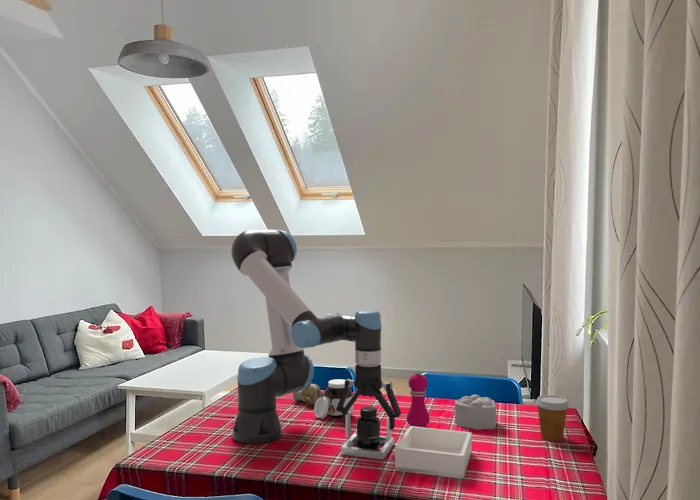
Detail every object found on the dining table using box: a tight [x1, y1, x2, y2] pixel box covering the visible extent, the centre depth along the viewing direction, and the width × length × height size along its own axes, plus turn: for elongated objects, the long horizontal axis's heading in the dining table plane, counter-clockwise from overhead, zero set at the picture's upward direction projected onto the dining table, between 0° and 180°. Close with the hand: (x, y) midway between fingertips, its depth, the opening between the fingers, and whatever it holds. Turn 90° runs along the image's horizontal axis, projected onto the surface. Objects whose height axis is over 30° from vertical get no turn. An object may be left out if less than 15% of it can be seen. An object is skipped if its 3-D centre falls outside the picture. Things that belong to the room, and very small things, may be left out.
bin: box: [394, 425, 473, 480], centre depth 160 cm, size 18×18×6 cm
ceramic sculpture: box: [292, 381, 325, 406], centre depth 215 cm, size 11×9×15 cm
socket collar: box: [340, 432, 395, 460], centre depth 170 cm, size 12×12×2 cm
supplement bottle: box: [356, 405, 381, 450], centre depth 169 cm, size 7×7×12 cm
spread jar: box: [313, 378, 355, 419], centre depth 199 cm, size 12×11×12 cm
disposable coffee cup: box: [535, 394, 570, 442], centre depth 178 cm, size 10×10×12 cm
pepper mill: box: [406, 369, 430, 429], centre depth 183 cm, size 7×7×20 cm
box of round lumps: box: [454, 394, 497, 430], centre depth 191 cm, size 10×13×9 cm
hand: (368, 437), depth 169 cm, fingers open, 12 cm apart
